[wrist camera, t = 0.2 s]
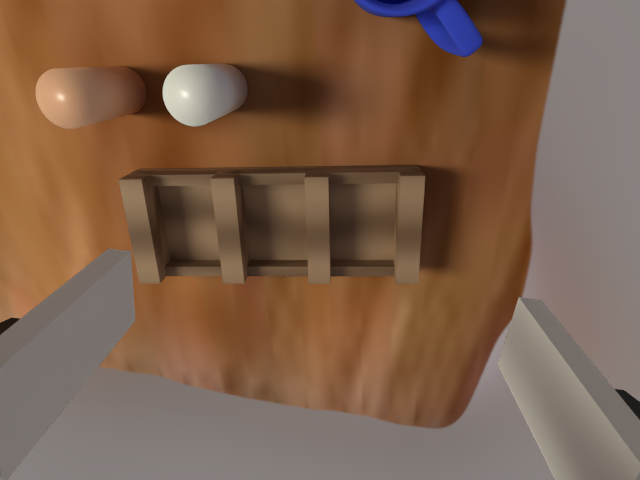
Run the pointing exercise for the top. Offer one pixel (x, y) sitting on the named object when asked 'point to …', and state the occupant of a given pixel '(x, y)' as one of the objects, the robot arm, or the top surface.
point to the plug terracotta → (89, 94)
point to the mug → (433, 21)
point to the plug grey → (203, 92)
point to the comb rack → (276, 222)
